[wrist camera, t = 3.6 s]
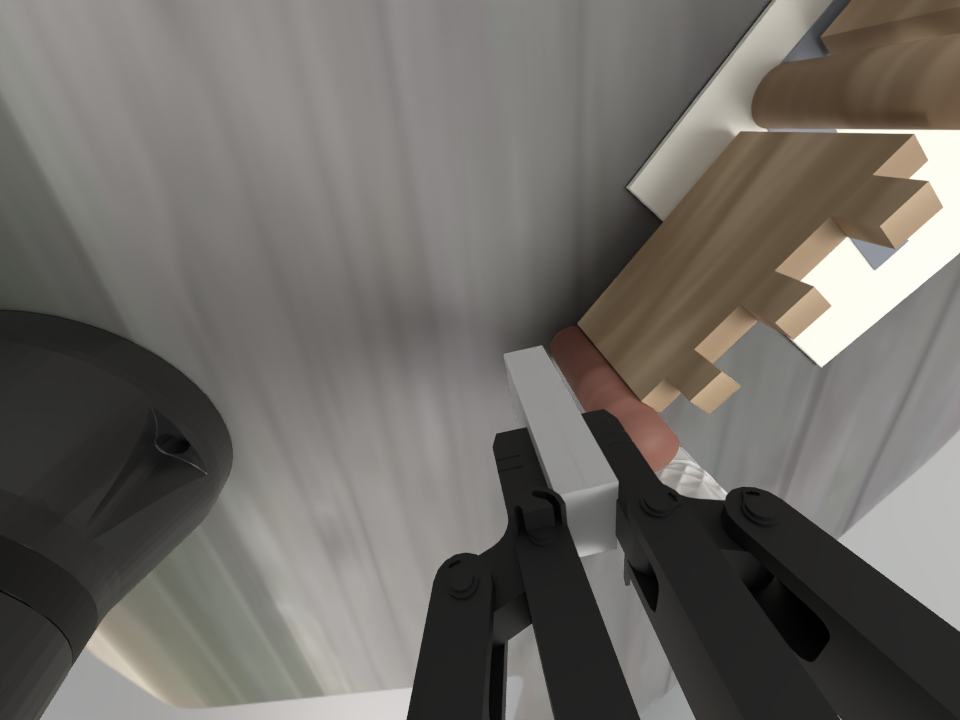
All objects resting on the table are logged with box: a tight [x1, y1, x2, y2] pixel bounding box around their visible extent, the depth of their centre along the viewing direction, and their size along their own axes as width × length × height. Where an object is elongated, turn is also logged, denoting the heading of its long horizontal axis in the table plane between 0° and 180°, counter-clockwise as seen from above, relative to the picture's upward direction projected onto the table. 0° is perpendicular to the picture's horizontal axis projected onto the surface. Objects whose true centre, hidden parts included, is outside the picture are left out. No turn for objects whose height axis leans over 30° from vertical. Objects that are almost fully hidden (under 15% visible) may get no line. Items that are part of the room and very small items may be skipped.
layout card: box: [626, 0, 960, 367], centre depth 19 cm, size 20×19×1 cm
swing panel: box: [550, 131, 943, 473], centre depth 16 cm, size 2×13×8 cm, turn 145°
